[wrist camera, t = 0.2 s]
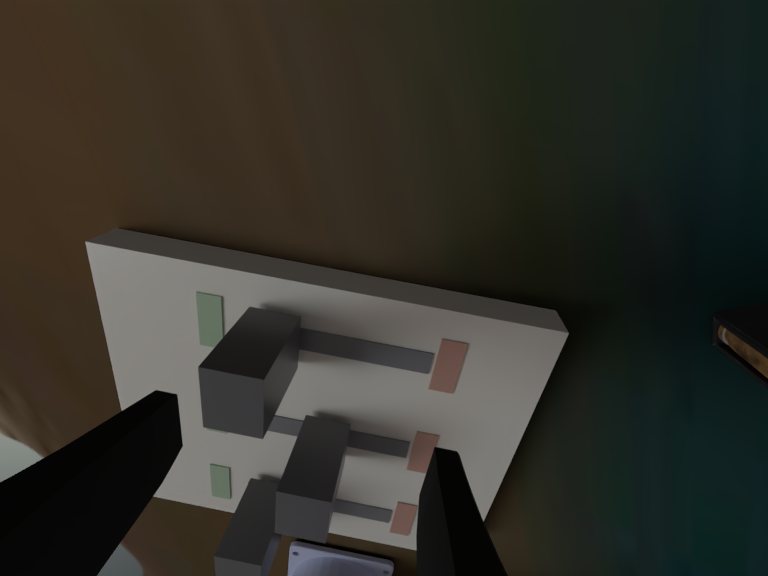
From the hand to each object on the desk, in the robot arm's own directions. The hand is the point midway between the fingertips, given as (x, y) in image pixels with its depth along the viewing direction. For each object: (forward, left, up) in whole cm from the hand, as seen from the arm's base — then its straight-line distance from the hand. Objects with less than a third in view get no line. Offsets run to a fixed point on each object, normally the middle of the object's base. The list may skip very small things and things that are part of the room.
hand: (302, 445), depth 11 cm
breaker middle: (-8, 0, -8) cm, 11 cm away
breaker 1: (-2, +3, -8) cm, 9 cm away
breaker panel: (-8, +1, -10) cm, 13 cm away
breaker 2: (-14, +3, -8) cm, 16 cm away
